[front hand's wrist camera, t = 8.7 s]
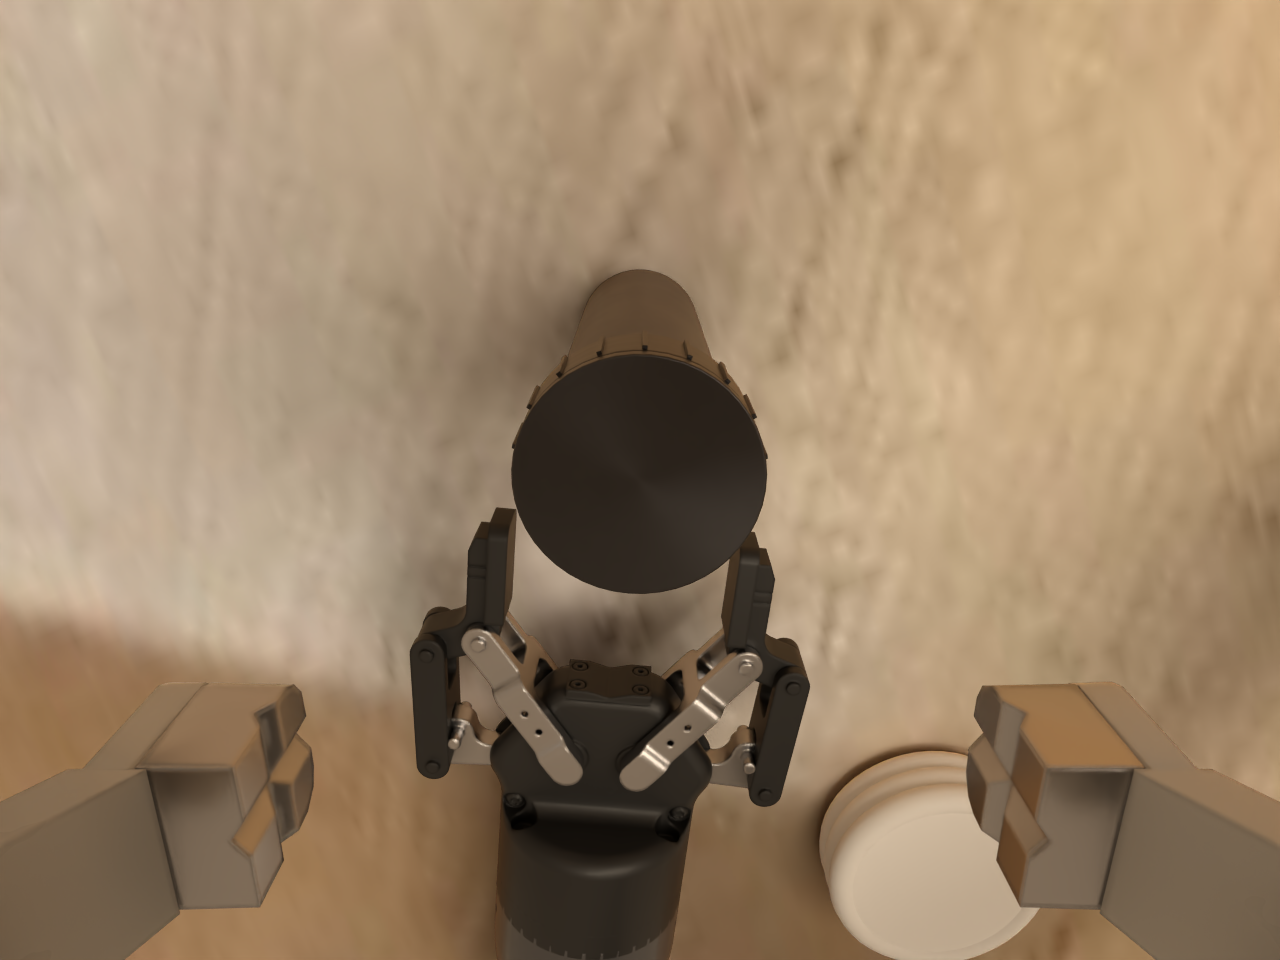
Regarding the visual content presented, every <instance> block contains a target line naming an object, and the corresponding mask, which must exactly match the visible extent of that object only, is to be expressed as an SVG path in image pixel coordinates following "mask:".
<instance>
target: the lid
mask: <svg viewBox="0 0 1280 960" xmlns="http://www.w3.org/2000/svg"><path fill="white" fill-rule="evenodd" d="M527 408H528V409H529V411H528V413H527V415H526V418H525V420H524V422H523V423H522V424H521V426H520V428H519V430H518V433H517V435H516V437H515V440H514V442H513V444H512V448H513V449H514V452H513V458H512V468H511V475H512V489H513V495H514V501H515V504H516V507H517V510H518V513H519V516H520V518H521V520H522V522H523V524H524V526H525V529H526V530H527V532H528V533H529V535H530V537H531V538H532V540H533V541H534V543H535V544H536V545H537V546H538V547H539V548H540V550H541V551H542V552H543V553H544V554H545V555H546V556H547V557H548V558H549V559H550V560H551V561H552V562H553V563H555V564H556V565H557V566H558V567H560V568H561V569H563V570H564V571H565V572H567V573H568V574H570V575H572V576H573V577H575V578H577V579H579V580H581V581H583V582H585V583H588V584H590V585H593V586H596V587H598V588H602V589H606V590H610V591H615V592H622V593H632V594H647V593H657V592H664V591H668V590H673V589H677V588H680V587H683V586H685V585H688V584H691V583H693V582H695V581H697V580H699V579H701V578H703V577H705V576H707V575H708V574H710V573H711V572H713V571H715V570H716V569H718V568H719V567H720V566H721V565H723V564H724V563H725V562H726V561H727V560H728V559H730V558H731V557H732V556H733V554H734V553H735V552H736V551H737V550H738V549H739V548H740V547H741V546H742V544H743V543H744V541H745V540H746V539H747V537H748V536H749V534H750V533H751V531H752V529H753V527H754V525H755V523H756V521H757V519H758V516H759V514H760V511H761V508H762V506H763V501H764V496H765V492H766V482H767V465H766V459H768V456H767V453H766V450H765V448H764V445H763V442H762V439H761V437H760V434H759V431H758V428H757V426H756V424H755V421H754V419H755V418H757V416H756V414H755V412H754V409H753V407H752V405H751V403H750V400H749V398H748V396H747V394H746V395H744V396H743V394H742V392H741V391H740V389H739V387H738V386H737V384H736V383H735V382H734V380H733V379H732V377H731V376H730V375H729V374H728V372H727V370H726V367H725V365H724V364H723V363H722V362H720V363H719V364H718V363H717V362H716V361H715V360H713V359H712V358H711V357H710V356H708V355H707V354H705V353H704V352H702V351H700V350H699V349H697V348H695V347H693V346H691V345H690V343H689V341H688V340H686V339H685V340H684V342H682V341H679V340H676V339H672V338H669V337H665V336H658V335H652V334H647V331H642V334H628V335H619V336H614V337H610V338H606V339H605V337H604V336H601V337H599V341H597V342H595V343H592V344H589V345H587V346H585V347H584V348H582V349H580V350H578V351H576V352H575V353H573V354H572V355H570V356H569V357H567V356H566V355H565V356H563V357H562V359H561V362H560V364H559V365H558V366H557V367H556V368H555V369H554V370H553V371H552V372H551V373H550V374H549V376H548V377H547V378H546V380H545V381H544V382H543V383H542V385H541V387H539V386H538V385H537V386H536V388H535V390H534V392H533V394H532V396H531V399H530V401H529V403H528V405H527Z"/></svg>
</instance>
